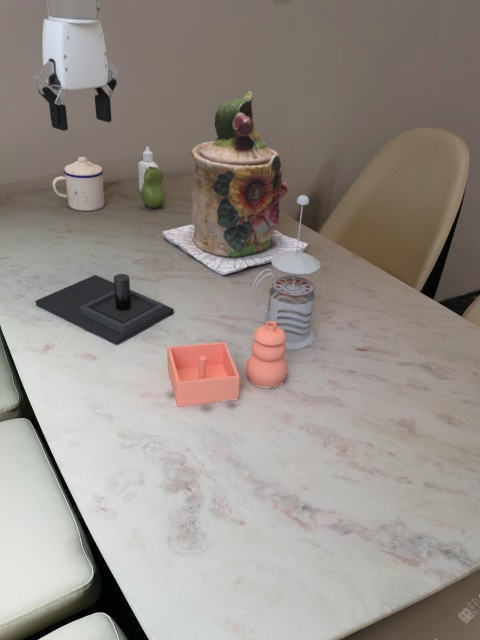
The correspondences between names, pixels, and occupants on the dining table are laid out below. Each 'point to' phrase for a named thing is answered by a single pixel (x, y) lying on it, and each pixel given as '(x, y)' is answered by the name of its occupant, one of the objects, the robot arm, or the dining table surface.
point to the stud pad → (122, 314)
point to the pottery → (225, 368)
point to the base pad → (79, 310)
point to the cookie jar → (235, 197)
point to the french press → (292, 294)
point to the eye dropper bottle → (145, 165)
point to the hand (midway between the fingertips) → (82, 124)
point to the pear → (152, 188)
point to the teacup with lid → (83, 185)
